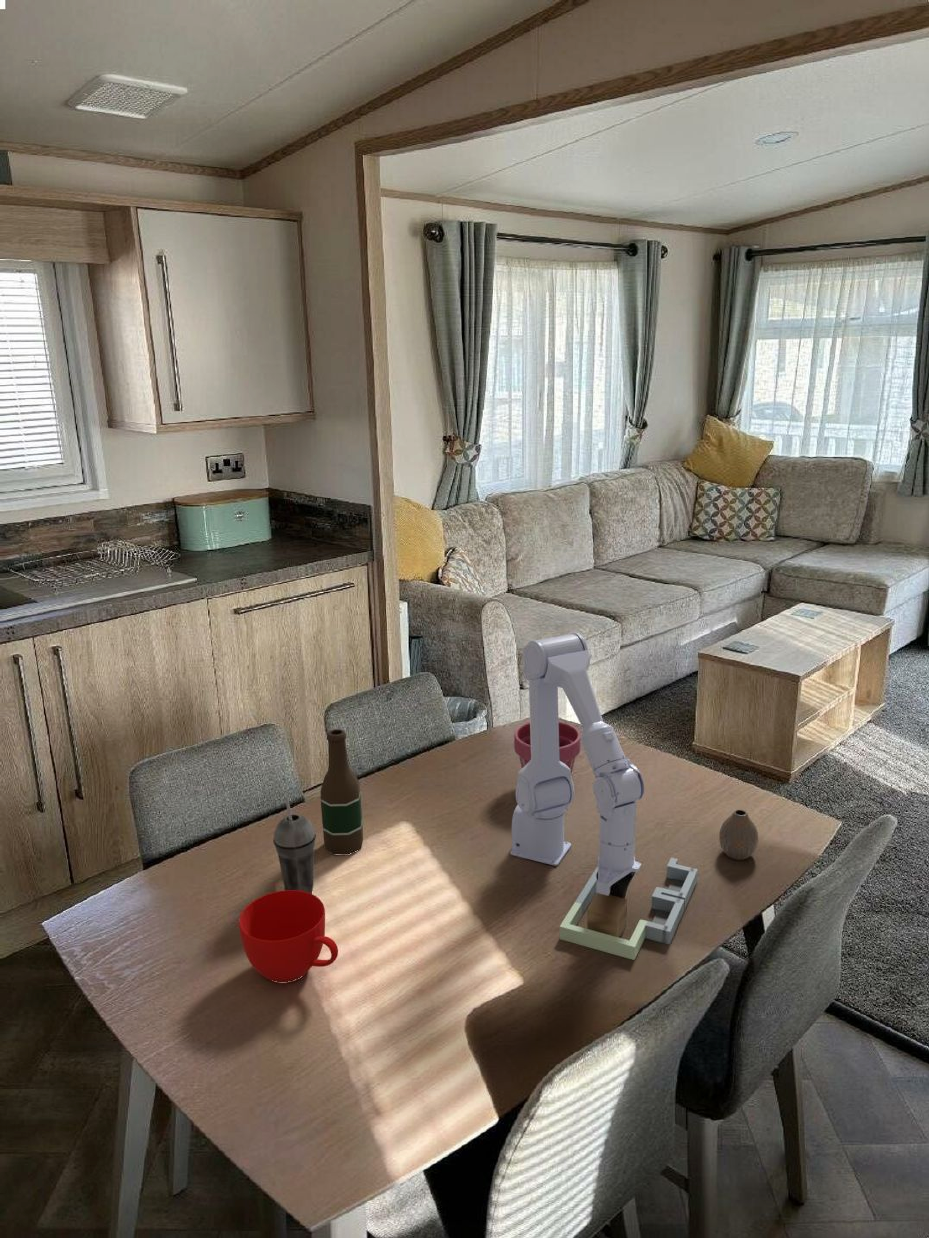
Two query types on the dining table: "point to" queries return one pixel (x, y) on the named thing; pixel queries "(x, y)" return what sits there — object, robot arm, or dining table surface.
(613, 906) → the walnut block
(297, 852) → the beverage cup
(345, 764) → the beer bottle
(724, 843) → the vase
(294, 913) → the ceramic cup
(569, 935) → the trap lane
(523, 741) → the plant pot
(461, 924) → the dining table surface
